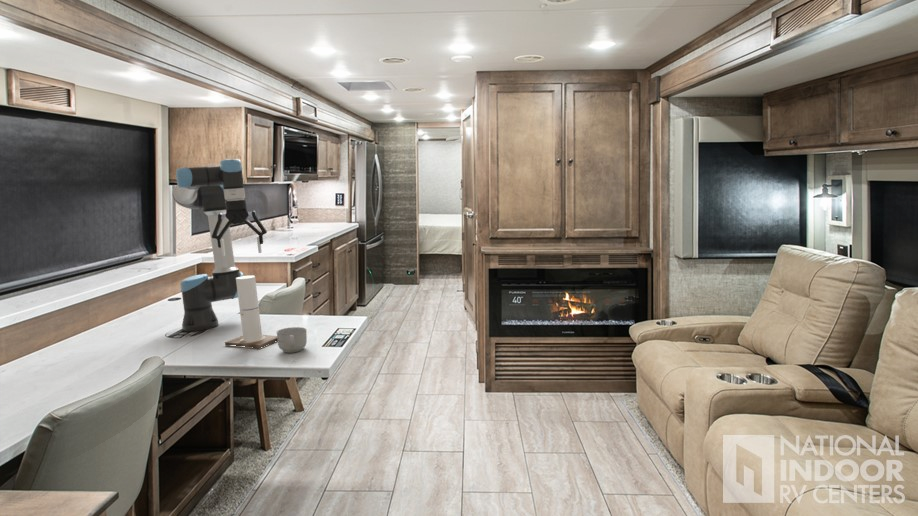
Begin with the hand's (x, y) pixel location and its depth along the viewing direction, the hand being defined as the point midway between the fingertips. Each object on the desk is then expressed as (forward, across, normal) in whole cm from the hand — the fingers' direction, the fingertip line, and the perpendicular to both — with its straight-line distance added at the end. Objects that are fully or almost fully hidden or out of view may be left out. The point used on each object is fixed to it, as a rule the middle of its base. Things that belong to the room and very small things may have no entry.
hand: (242, 254), depth 237 cm
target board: (+36, 0, 0) cm, 36 cm away
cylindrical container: (+34, 0, 0) cm, 34 cm away
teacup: (+36, +17, -19) cm, 44 cm away
